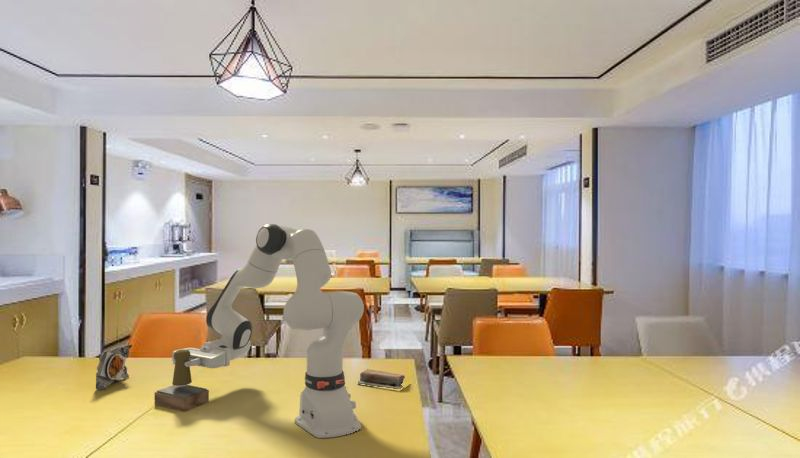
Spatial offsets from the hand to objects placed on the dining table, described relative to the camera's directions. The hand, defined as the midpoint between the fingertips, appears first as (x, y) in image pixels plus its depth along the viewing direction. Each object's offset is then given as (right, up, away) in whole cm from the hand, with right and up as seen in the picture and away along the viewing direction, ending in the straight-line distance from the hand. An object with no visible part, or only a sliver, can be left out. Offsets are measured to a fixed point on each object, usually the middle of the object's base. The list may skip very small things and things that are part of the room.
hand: (179, 363), depth 167 cm
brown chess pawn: (0, -7, +1) cm, 7 cm away
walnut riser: (0, -13, +1) cm, 14 cm away
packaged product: (+67, -14, +22) cm, 72 cm away
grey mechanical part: (-34, -13, +21) cm, 42 cm away
